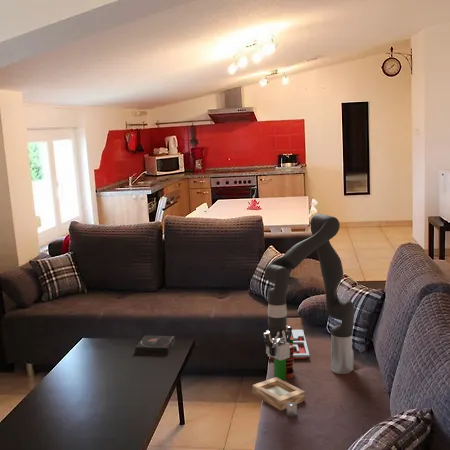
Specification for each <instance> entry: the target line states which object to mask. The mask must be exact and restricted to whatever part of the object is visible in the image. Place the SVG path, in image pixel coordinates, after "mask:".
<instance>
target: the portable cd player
mask: <svg viewBox="0 0 450 450" xmlns="http://www.w3.org/2000/svg"><path fill="white" fill-rule="evenodd" d="M175 344H176V336H175V335H144V336H143V337H142V338H141V340H139V342H138V343H137V344H136V346H135V348H134V353H135V355H153V356H154V355H158V356H159V355H162V356H168V355H169V354H170V352H171V351H172V349H173V348H174V346H175Z"/></svg>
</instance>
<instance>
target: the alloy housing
mask: <svg viewBox="0 0 450 450" xmlns="http://www.w3.org/2000/svg"><path fill="white" fill-rule="evenodd" d="M273 339H274V338H273ZM272 343H273V342H272ZM274 348H275V356H272V357H274V358H276V359H278V360H284V359H287V358H290V343H288V342H285V341H283V340H280V339H277V342H276V343H275V347H274ZM265 354H266V355H267V356H268V355H270V354H269V347H267V346H265ZM270 356H271V355H270Z"/></svg>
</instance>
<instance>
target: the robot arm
mask: <svg viewBox="0 0 450 450" xmlns="http://www.w3.org/2000/svg"><path fill="white" fill-rule="evenodd" d="M309 223H310V225H309V226H310V232H311V236H310V237H308V238H306V239H304V240H302V241H299V242H298V243H296V244H294V245H293V246H292V247H290V249H288V250H287V251H286V252H285V253H284V254H283V255H282V256H280V257H278V258H277V259H274V260H273V261H272V262H270V263H269V264H268V265H267V266H266V268H265V269H264V273H263V275H264V278H265V280H267V281H268V282H270V283H274V287H272V288H270V289H269V290H268V298H267V299H268V301H267V302H268V306H267V325H268V329H267V330H268V332H266V331H265V332H262V338H263V343H264V346H265V347H266V346H267V347H269V354H270V355H271V356H275V348H274V347H275V343H276V342H277V339H279V338H280V340H283V341H285V342H290V338H291V332H292V330H293V327H291V326H289V325H288V324H287V323H288V314H287V313H288V309H287V295H286V294H287V290H288V287H289V282H290V272H289V271H290V270H294V269H296V268H297V267H298V266H300V264H301V263H302V262H303V261H304V260H305V259H306V258H307V257H308V256H310V255H311V254H312V253H314V252H315V251H316V252H317V256H318V260H319V267H320V271H321V275H322V280H323V285H324V292H325V301H326V302H325V303H326V310H327V314H328V316H329V317H330V318H332V319H335V320H339V321H341V323H340V324H337V325H336V324H335V325H333V326H332V327H331V331H330V332H331V334H330V337H331V339H330V341H331V345H330V346H331V347H330V348H331V351H330V352H331V353H330V355H331V356H330V364H331V366H330V368H331V369H330V370H331V372H333V373H335V374H338V375H346V374H350V373H352V371H353V370H354V349H353V330H354V320H355V319H354V318H355V305H354V303H353V301H351V300H347V299H343V298H339V296H338V287H339V285H340V283H341V281H343V276H344V269H343V264H342V260H341V258H340V256H339V254H338V253H337V251H336V249H335V248H334V247H333V245H332V243H331V242H330V240H331V239H333V238H334V237H335V236H337V234H338V232H339V231H340V226H341V225H340V221H339V219H338V218H337V217H335V216H331V215H328V214H323V213H316V214H314V215H313V216H312V217H311V219H310V222H309ZM287 336H288V338H287ZM269 337H270V338H269ZM273 338H274V339H273ZM272 342H273V343H272Z"/></svg>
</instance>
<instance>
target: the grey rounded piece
mask: <svg viewBox="0 0 450 450" xmlns="http://www.w3.org/2000/svg"><path fill="white" fill-rule="evenodd" d="M285 409H286V416H287V417H291V418H293V417H296V416H297V415H298V404H296V403H293V402H289V403H287V404H286V408H285Z"/></svg>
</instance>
